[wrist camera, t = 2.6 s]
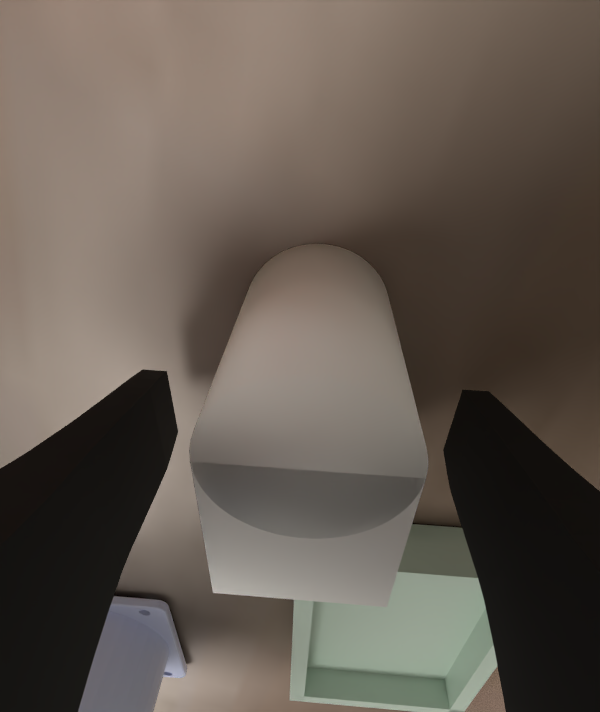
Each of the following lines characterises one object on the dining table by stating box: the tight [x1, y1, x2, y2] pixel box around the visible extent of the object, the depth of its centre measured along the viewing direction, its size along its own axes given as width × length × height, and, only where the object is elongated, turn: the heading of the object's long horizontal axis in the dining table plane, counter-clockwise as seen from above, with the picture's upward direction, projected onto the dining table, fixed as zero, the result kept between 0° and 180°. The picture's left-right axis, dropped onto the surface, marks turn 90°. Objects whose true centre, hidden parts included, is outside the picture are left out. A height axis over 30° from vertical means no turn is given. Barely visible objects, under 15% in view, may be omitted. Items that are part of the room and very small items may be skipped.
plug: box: [189, 244, 428, 607], centre depth 10 cm, size 8×4×5 cm, turn 178°
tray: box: [290, 524, 497, 712], centre depth 18 cm, size 8×12×2 cm
